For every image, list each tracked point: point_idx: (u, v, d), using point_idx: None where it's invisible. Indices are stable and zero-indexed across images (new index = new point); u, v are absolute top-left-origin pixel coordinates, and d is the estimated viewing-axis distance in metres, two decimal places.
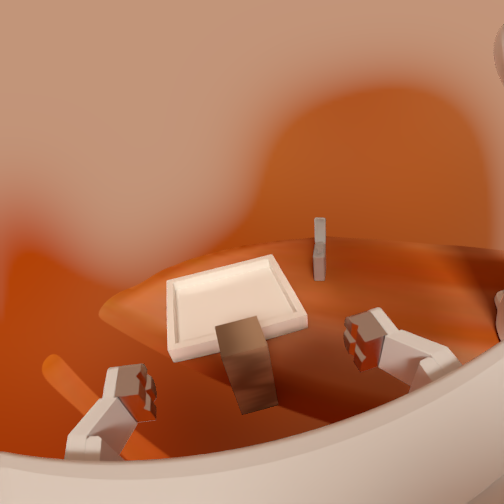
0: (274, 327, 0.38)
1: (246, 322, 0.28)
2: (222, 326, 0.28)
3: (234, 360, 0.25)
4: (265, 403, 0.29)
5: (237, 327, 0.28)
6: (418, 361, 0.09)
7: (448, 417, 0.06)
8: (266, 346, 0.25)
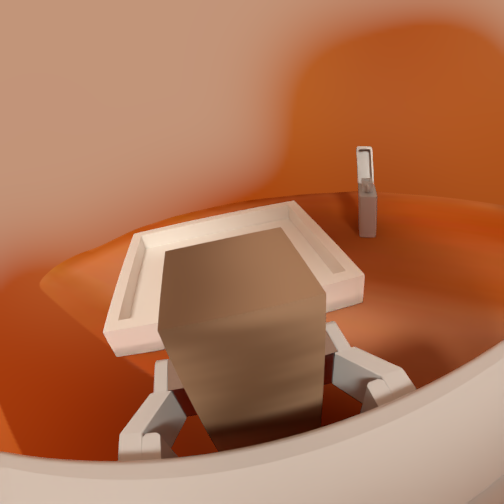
0: None
1: (251, 241, 0.10)
2: (185, 250, 0.10)
3: (207, 347, 0.07)
4: None
5: (225, 250, 0.10)
6: (370, 381, 0.09)
7: (448, 417, 0.06)
8: (320, 298, 0.07)
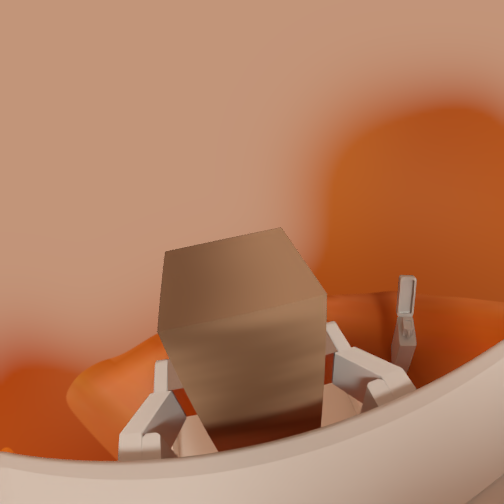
0: None
1: (251, 241, 0.10)
2: (185, 251, 0.10)
3: (208, 348, 0.07)
4: None
5: (226, 250, 0.10)
6: (370, 381, 0.09)
7: (448, 417, 0.06)
8: (321, 298, 0.07)
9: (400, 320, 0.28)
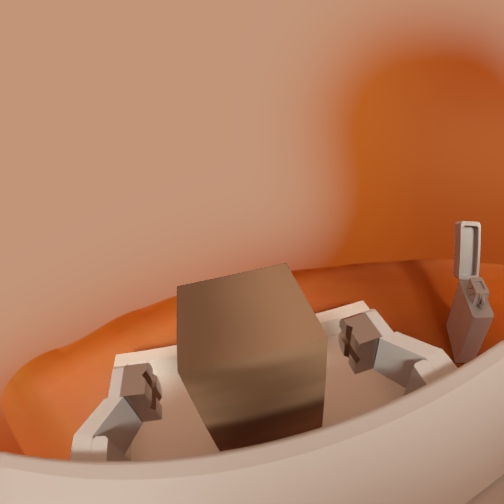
0: None
1: (258, 278, 0.11)
2: (196, 286, 0.11)
3: (222, 383, 0.08)
4: None
5: (234, 287, 0.10)
6: (413, 363, 0.09)
7: (448, 417, 0.06)
8: (323, 340, 0.08)
9: (464, 284, 0.18)
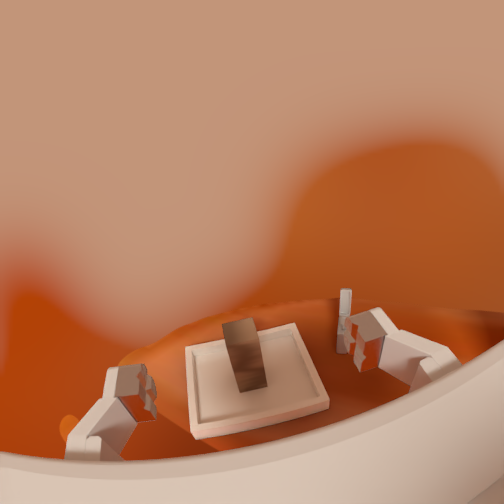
0: (297, 411, 0.35)
1: (244, 322, 0.39)
2: (227, 324, 0.39)
3: (235, 348, 0.36)
4: (257, 384, 0.40)
5: (238, 324, 0.38)
6: (418, 361, 0.09)
7: (448, 417, 0.06)
8: (258, 339, 0.36)
9: (340, 318, 0.46)
